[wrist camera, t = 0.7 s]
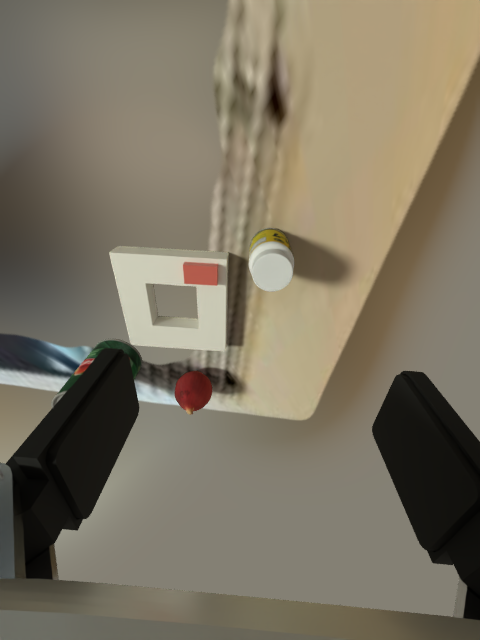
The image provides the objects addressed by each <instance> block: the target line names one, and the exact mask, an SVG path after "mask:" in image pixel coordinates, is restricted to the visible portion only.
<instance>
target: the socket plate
mask: <svg viewBox="0 0 480 640" xmlns="http://www.w3.org/2000/svg"><path fill="white" fill-rule="evenodd" d="M109 254H110V258H111V263H112V267H113V271H114V275H115V280H116V284H117V288H118V292H119V297H120V300H121V305H122V309H123V314H124V318H125V322H126V326H127V331H128V335H129V339H130V343H131V345H139V346H154V347H169V348H183V349H184V348H185V349H198V350H213V351H226V344H227V314H228V258H229V252H214V251H195V250H178V249H162V248H145V247H144V248H143V247H127V246H118V247H116V248H115V249H113V250H112V251H111V252H109ZM153 284H166V285H167V284H168V285H183V286H197V305H198V319H195V318H178V317H163V316H158V312H157V306H156V300H155V293H154V286H153Z"/></svg>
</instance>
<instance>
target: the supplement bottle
mask: <svg viewBox="0 0 480 640" xmlns="http://www.w3.org/2000/svg"><path fill="white" fill-rule="evenodd" d="M249 269H250V272H251V274H252V277H253V280H254V282H255V284H256V285H257V286H258V287H259V288H261V289H263V290H265V291H278V290H281V289H283V288H284V287H286V286H287V285H288V284H289V283H290V281H291V279H292V276H293V269H294V257H293V254H292V251H291V248H290V245H289V241H288V239H287V237H286V236H285V234H284V233H282V232H281V231H280V230H278V229H275V228H266V229H263V230H260V231H259V232H258V233H256V234H255V236H254V237H253V239H252V241H251V244H250V253H249Z"/></svg>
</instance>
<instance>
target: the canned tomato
mask: <svg viewBox="0 0 480 640" xmlns="http://www.w3.org/2000/svg"><path fill="white" fill-rule="evenodd" d="M104 348H115V349H123V351H124V353H126V354H128V355H129V358H130V363H131V368H132V373H133V378H134V379H135V377H136V375H137V374H138V371H139V370H140V368H141V366H142V358H141V355H140V353H139V352H138V351H137V350H136V349H135V348H134V347H133V346H132V345H130V344H129V343H127V342H124V341H122V340H118V339H105V340H102V341H100V342H99V343H98V344H97V345H96V346H95V348H94V349H93V350H92V352H91V353H90V354H89V355H88V356H87V358H86V359H85V360H84V361H83V363H82V364H81V365H80V366H79V368H78V369H77V370H76V371H75V373H74V374H73V375H72V376H71V377H70V379H69V380H68V381H67V382H66V384H65V385H64V386H63V387H62V389H61V390H60V391H59V393H58V394H57V395H56V396H55V397H54V398H53V400H52V408H53V407H54V406H55V405H56V403H57V402H58V401H59V400H60V399H61V397H62V396H63V395H64V394H65V393H66V392H67V390H68V389H69V388H70V387H71V386H72V385H73V384H74V383H75V382H76V381H77V379H78V378H79V377H80V376H81V375H82V374H83V372H84V371H85V370H86V369H87V368H88V366H89V365H90V364H91V363H92V362H93V360H94V359H95V358H96V357H97V356H98V354H99V353H100V352H101V351H102V350H103V349H104Z"/></svg>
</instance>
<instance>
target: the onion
mask: <svg viewBox="0 0 480 640" xmlns="http://www.w3.org/2000/svg"><path fill="white" fill-rule="evenodd" d="M211 395H212V385H211V382H210V380H209V379H208V377H207V376H206V375H204V374H203V373H201V372H199V371H191V372H188V373H185V374H184V375H183V376H181V377H180V378H179V379H178V381H177V383H176V388H175V398H176V400H177V402H178V403H179V405H180V406H181V407H182V408H183V409H185V410H186V411H187V413H188V414H190V415H191V414H193V411H197V410H199V409H201V408H203V407H204V406H205V405H206V404H207V403H208V402H209V400H210V398H211Z"/></svg>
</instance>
